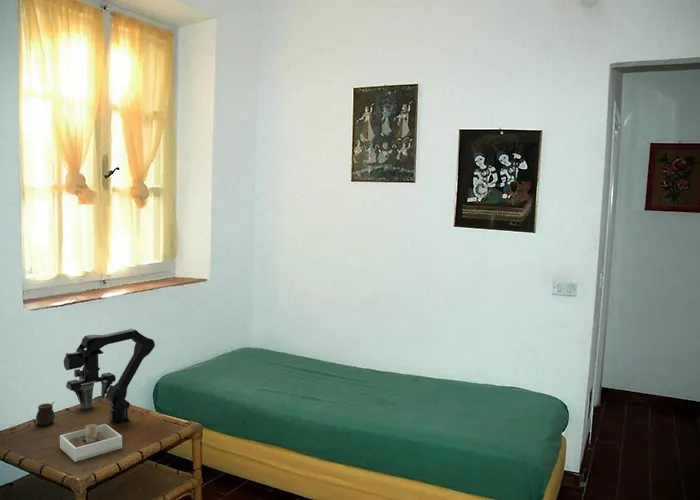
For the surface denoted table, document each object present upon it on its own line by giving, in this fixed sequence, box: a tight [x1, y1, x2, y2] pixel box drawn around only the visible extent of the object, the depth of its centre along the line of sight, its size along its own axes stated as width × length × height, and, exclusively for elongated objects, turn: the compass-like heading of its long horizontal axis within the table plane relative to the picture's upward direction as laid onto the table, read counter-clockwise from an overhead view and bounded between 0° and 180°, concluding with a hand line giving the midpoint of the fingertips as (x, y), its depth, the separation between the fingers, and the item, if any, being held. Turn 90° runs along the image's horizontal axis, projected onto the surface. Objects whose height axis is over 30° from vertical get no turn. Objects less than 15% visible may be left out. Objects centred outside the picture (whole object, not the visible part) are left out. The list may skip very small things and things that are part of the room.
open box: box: [59, 423, 123, 462], centre depth 229 cm, size 18×16×5 cm
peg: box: [84, 423, 98, 444], centre depth 229 cm, size 4×4×8 cm
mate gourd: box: [35, 401, 56, 426], centre depth 251 cm, size 7×8×10 cm
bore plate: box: [70, 432, 109, 448], centre depth 229 cm, size 12×12×2 cm
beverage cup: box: [77, 366, 95, 410], centre depth 271 cm, size 7×7×20 cm
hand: (91, 400), depth 248 cm, fingers open, 9 cm apart
